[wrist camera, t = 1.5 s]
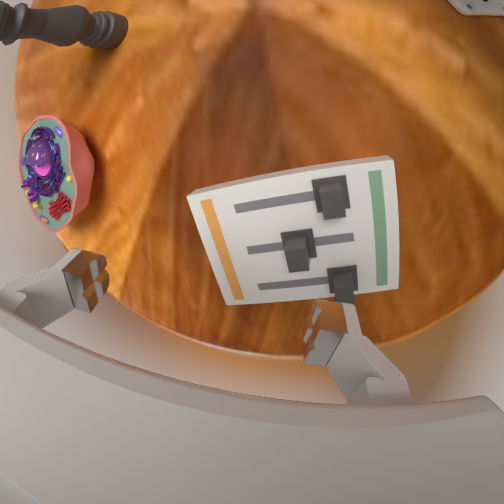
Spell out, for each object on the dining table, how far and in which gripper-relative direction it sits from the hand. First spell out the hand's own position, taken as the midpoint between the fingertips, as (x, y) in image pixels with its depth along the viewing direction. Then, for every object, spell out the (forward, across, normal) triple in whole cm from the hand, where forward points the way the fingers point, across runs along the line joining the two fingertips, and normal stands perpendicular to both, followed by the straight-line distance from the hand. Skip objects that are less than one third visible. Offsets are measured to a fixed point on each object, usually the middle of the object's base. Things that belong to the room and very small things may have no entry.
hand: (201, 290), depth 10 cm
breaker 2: (+23, -14, +13) cm, 30 cm away
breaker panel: (+27, -7, +10) cm, 29 cm away
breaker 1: (+23, -9, +2) cm, 25 cm away
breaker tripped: (+23, -7, +10) cm, 26 cm away
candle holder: (+30, +26, -17) cm, 43 cm away
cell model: (+31, +32, +5) cm, 45 cm away
